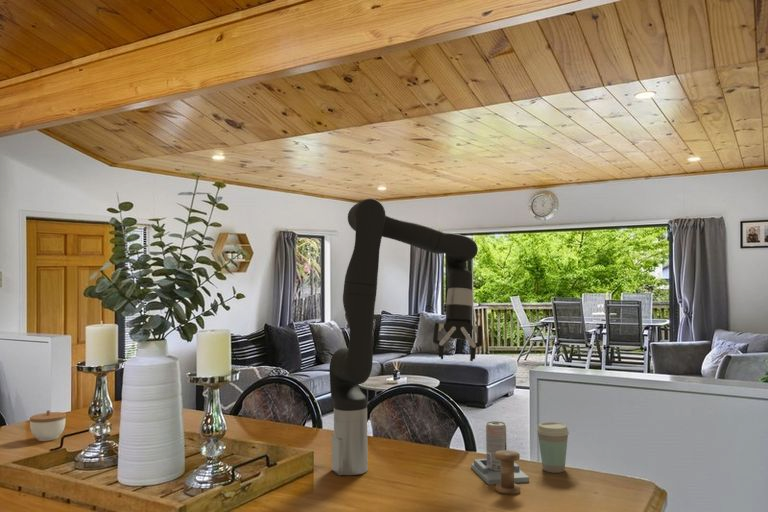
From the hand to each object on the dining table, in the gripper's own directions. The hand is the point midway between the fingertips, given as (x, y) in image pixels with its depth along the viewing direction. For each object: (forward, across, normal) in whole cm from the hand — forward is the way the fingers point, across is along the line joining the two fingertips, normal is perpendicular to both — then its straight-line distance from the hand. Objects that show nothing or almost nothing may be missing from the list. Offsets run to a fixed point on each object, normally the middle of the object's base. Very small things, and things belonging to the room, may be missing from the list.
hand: (456, 360), depth 177 cm
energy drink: (+28, +12, -7) cm, 31 cm away
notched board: (+30, +12, -8) cm, 33 cm away
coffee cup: (+28, +28, -2) cm, 39 cm away
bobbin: (+32, +14, -20) cm, 40 cm away
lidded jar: (+35, -135, +22) cm, 141 cm away
